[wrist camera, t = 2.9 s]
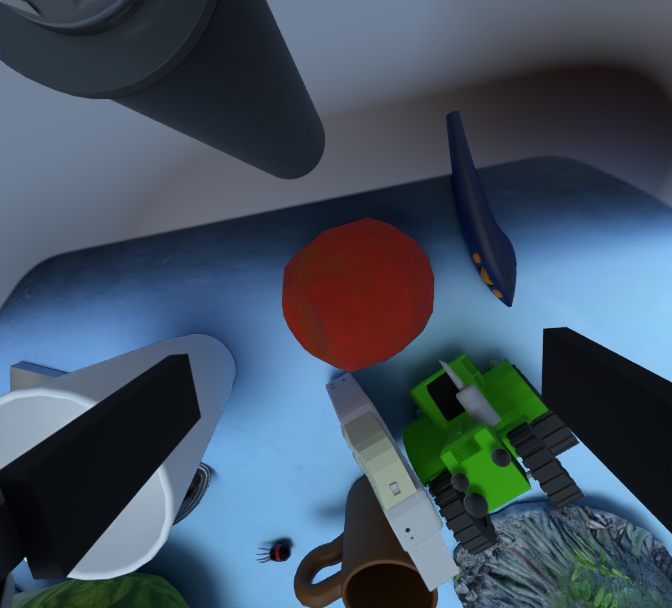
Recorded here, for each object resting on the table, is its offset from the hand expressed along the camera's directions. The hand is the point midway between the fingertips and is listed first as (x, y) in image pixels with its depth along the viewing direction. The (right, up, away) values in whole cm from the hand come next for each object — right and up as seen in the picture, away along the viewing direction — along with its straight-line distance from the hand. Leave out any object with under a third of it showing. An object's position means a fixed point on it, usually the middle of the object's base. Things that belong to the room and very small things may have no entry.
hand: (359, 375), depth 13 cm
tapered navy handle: (+12, +11, +15) cm, 22 cm away
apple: (-3, +1, +9) cm, 10 cm away
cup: (-14, -3, +21) cm, 25 cm away
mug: (+2, -18, +23) cm, 29 cm away
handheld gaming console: (+4, -10, +5) cm, 12 cm away
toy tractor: (+12, -10, +11) cm, 19 cm away
